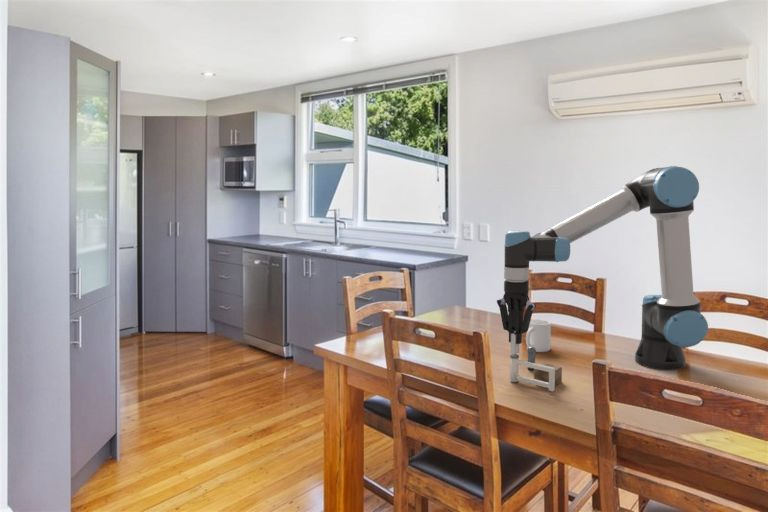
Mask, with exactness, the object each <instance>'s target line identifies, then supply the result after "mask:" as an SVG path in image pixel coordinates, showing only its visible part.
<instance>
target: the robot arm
mask: <svg viewBox="0 0 768 512" xmlns="http://www.w3.org/2000/svg"><path fill="white" fill-rule="evenodd" d="M699 190H700V183H699V179H698V178H697V176H696V174H695V173H694V172H692V171H691V170H690V169H688V168H686V167H682V166H676V165H671V166H665V167H657V168H656V167H655V168H652V169H650V170H649V169H648V170H647V171H646V172H644V173H642V174H641V175H639V176H637V177H636V178H634V179H632V180H631V181H629V182H628V183H626V184H623V185H622V186H621V188H620V190H619V191H617V192H615V193H614V194H612V195H610V196H608V197H606V198H604V199H603V200H601V201H598V202H596V203H595V204H593V205H591V206H589V207H587V208H586V209H584V210H582V211H580V212H578V213H576V214H574V215H572V216H571V217H569V218H567V219H564V220H563V221H561V222H560V223H558V224H556V225H554V226H552V227H550V228H548V229H546V230H544V231H542V232H538V233H535V234H534V235H532V236H531V233H530V231H528V230H527V231H526V230H509V231H506V233H505V238H504V266H503V267H504V270H503V273H504V274H503V275H504V276H503V278H504V282H503V291H504V294H503V297H502V298H501V299H500V298H499V299H497V300H496V303H497V306H498V307H499V312H500V317H501V322H502V324H501V325H502V328H503V330H504V331H507V332H508V343H510V355H511V354H517V355H518V354H520V344H522V342H523V340H522V339H523V337H522V336H523V334H526V333H527V331H528V328H529V324H530V320H532V316H533V313H534V310H535V309H536V307H537V304H535V303H532V302H531V301H530V297H529V288H530V287H529V286H530V283H529V281H528V280H529V278H530V276H529V275H530V262H552V263H553V262H554V263H559V262H567V261H568V260H569V259H570V256H571V243H574V242H576V241H577V240H579V239H582V238H583V237H585V236H587V235H589V234H591V233H592V232H595V231H597V230H599V229H600V228H602V227H604V226H606V225H608V224H610V223H612V222H614V221H616V220H618V219H620V218H622V217H623V216H625V215H627V214H629V213H631V212H640V211H642V210H644V209H646V208H649V214H650V215H651V216H652V217H653V218H655V220H656V221H655V222H656V234H657V247H658V260H659V261H658V262H659V274H660V287H661V288H660V289H661V294H648V295H645V296H643V299H642V304H641V338H640V341H639V344H638V346H637V349H636V351H635V355H634V360H635V362H636V363H637V364H638V363H639V364H638V365H640V364H641V365H640V366H643V365H644V366H643V367H646V366H647V367H648V368H650V369H654V370H655V369H656V370H668V371H669V370H670V371H672V370H673V371H674V370H681V369H683V368H685V367H686V365H687V363H686V362H687V360H686V356H685V351H684V349H683V348H690V347H694V346H697V345H699V344H700V343H701V342H702V341H703V340H704V339H705V338H706V336H707V334H708V331H709V323H708V320H707V319H706V317H705V316H704V315H703V314H702V313H701V312H702V311H701V299H699V298H698V297H697V296H695V295H694V281H693V267H692V250H691V249H692V248H691V236H690V235H691V234H690V223H689V221H690V219H689V217H690V215H691V214H692V213H693V212H694V210H695V209H694V208H695V207H694V206H695V205H694V201H695V199H696V198H697V197H698V195H699V192H700V191H699ZM525 308H526V309H525ZM524 311H525V312H524Z"/></svg>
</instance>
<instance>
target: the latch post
mask: <svg viewBox="0 0 768 512" xmlns="http://www.w3.org/2000/svg"><path fill="white" fill-rule="evenodd" d="M526 353H527V362H531V363H535V364H536V353H537V352H536V349H535V348H534V347H529V348H528V347H527V348H526ZM527 371H531V372H532V371H533V372H534V368H529V367H527Z"/></svg>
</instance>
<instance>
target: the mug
mask: <svg viewBox="0 0 768 512" xmlns="http://www.w3.org/2000/svg"><path fill="white" fill-rule="evenodd" d="M551 326H552V322H551V321H549V320H546V319H531V320H530V324H529V328H528V331H527V332H526V333H525V334H526V335H525V343H526V344H525V345H526V346H527V349H528V348H529V347H534V348H535V349H536V353H546V352H549V351H550V350H551V345H552V344H551V341H552V340H551V335H552V327H551Z"/></svg>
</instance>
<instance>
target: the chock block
mask: <svg viewBox="0 0 768 512" xmlns="http://www.w3.org/2000/svg"><path fill="white" fill-rule="evenodd" d="M540 365H544V366H549V367H553V368H555V387H556V386H557V385H559V384H561V383H562V381H563V380H562V379H563V378H562V375H563V373H562V372H563V366H560V365H556V364H552V363H545V362H543V363H541V364H540ZM533 379H536V380H540V381H544V382H548V383H549V372H547V371H542V370H538V369H534V370H533Z"/></svg>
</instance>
